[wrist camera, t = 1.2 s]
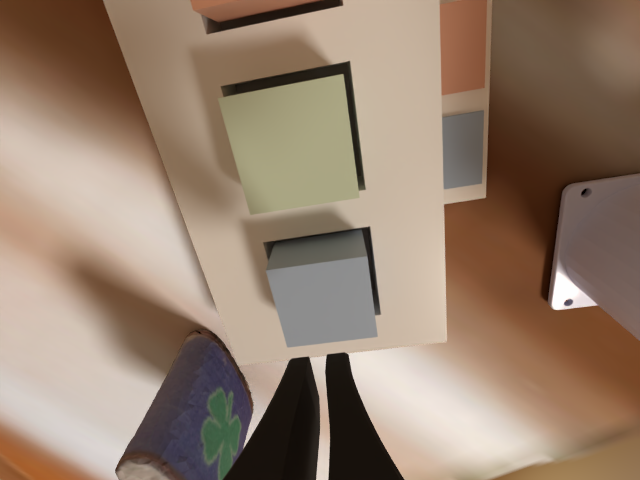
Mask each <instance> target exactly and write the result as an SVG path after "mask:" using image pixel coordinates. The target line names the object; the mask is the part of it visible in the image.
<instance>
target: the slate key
mask: <svg viewBox="0 0 640 480" xmlns="http://www.w3.org/2000/svg"><path fill="white" fill-rule="evenodd" d="M266 273H267V277H268V280H269V284H270V288H271V291H272V295H273V298H274V302H275V305H276V309H277V313H278V316H279V320H280V323H281V327H282V331H283V334H284V338H285V341H286V345H287V348H289V347H297V346H306V345H314V344H323V343H331V342H339V341H348V340H356V339H365V338H373V337H378V334H377V327H376V319H375V311H374V304H373V296H372V288H371V281H370V273H369V265H368V258H367V252H366V248H365V243H364V238H363V234H362V229H360V230H353V231H347V232H340V233H333V234H326V235H320V236H313V237H306V238H300V239H293V240H286V241H279V242H275V243H274V246H273V249H272V253H271V256H270V259H269V262H268V265H267V268H266Z"/></svg>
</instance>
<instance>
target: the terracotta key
mask: <svg viewBox="0 0 640 480" xmlns="http://www.w3.org/2000/svg"><path fill="white" fill-rule="evenodd" d="M190 1H191V5H192V8H193V11H195V12H197V13H200V14H202V15H204V16H206V17H208V18H210V19H212V20H214V21H216V22H218V23H219V22H224V21H229V20H233V19H238V18H243V17H247V16H252V15H257V14H261V13H266V12H271V11H275V10H280V9H285V8H290V7H294V6H299V5H304V4H308V3H313V2H318V1H322V0H190Z"/></svg>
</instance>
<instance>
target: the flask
mask: <svg viewBox="0 0 640 480" xmlns="http://www.w3.org/2000/svg"><path fill="white" fill-rule="evenodd" d="M198 331H199V332H201V333H202V334H198V333H197V331H194V332H192V333H190V334H189V335H188V336H187V338H186V339H185V340H184V343H183V344H182V346H181V348H180V350H179V352H178V355H177V357H176V359H175V361H174V362H173V364H172V367H171V369H170V371H169V373H168V375H167V377H166V379H165V380H164V382H163V384H162V386H161V388H160V389H159V391H158V393H157V395H156V397H155V399H154V400H153V402H152V404H151V406H150V408H149V410H148V411H147V413H146V415H145V417H144V419H143V421H142V423H141V424H140V426H139V428H138V430H137V432H136V434H135V436H134V437H133V438H132V440H131V441H130V443H129V444H128V446H127V448H126V450H125V452H124V454H123V456H122V457H121V459H120V461H119V463H118V465H117V467H116V469H115V473H116V475H117V477H118V479H119V480H222V479H223V478H224V477H225V475H226V474H227V473H228V471H229V470H230V468H231V467H232V465H233V464H234V463H235V461H236V460H237V458H238V457H239V455H240V454H241V452H242V451H243V447H244V442H245V439H246V435H247V431H248V427H249V424H250V421H251V418H252V414H253V410H254V409H253V400H252V398H251V392H250V391H249V386H248V383H247V382H246V380H245V377H244V376H243V375H242V373H241V371H240V369H239V367H238V366H237V364H236V362H235V361H234V358H232V356H231V354H230V352H229V350H227V348H226V346H225V344H224V343H223V342H222V341H221V340H220V339H219V338H218V337H216V335H215V334H213V333H212V332H211V331H206V330H198Z"/></svg>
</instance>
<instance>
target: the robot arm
mask: <svg viewBox="0 0 640 480" xmlns="http://www.w3.org/2000/svg"><path fill="white" fill-rule="evenodd" d="M584 189H587V190H586V192H585V193H584V194H583V195H581V192H582V191H583V190H584ZM566 300H568V301H566ZM565 301H566V302H565ZM548 304H549V305H550V306H551V308H552V309H555V310H561V309H570V308H578V307H586V306H594V305H599V306H600V307H601V308H602V309H603V310H604V311H606V312H607V313H608V314H609V315H610V316H611V317H613V318H614V319H615V320H616V321H617V322H618V323H620V324H621V325H622V326H623V327H624V328H625V329H627V330H628V331H629V332H630V333H631V334H632V335H634V336H635V337H636V338H637V339H638V340H639V341H640V173H638V174H632V175H625V176H619V177H612V178H605V179H599V180H592V181H586V182H579V183H573V184H570V185H568V186H567V187H565V189H564V190H563V192H562V198H561V205H560V213H559V220H558V228H557V236H556V243H555V251H554V259H553V266H552V274H551V281H550V289H549V297H548ZM325 374H326V386H327V399H328V411H329V423H330V459H329V480H404V478H403V477H402V475H401V474H400V472H399V470H398V469H397V467H396V465H395V464H394V462H393V461H392V459H391V457H390V455H389V454H388V452H387V450H386V449H385V447H384V445H383V443H382V441H381V440H380V438H379V436H378V434H377V432H376V430H375V428H374V426H373V424H372V422H371V420H370V418H369V416H368V414H367V412H366V409H365V407H364V405H363V402H362V400H361V398H360V395H359V393H358V390H357V388H356V385H355V382H354V379H353V376H352V372H351V366H350V361H349V355H348V354H347V353H345V352H342V353H333V354H327V358H326V370H325ZM319 435H320V405H319V395H318V391H317V387H316V383H315V379H314V375H313V371H312V367H311V363H310V358H309V356H307V357H299V358H292V359H291V360H290V361H289V363H288V365H287V368H286V370H285V373H284V375H283V377H282V379H281V382H280V384H279V386H278V388H277V390H276V392H275V394H274V396H273V398H272V400H271V402H270V404H269V406H268V408H267V410H266V412H265V413H264V415H263V417H262V419H261V421H260V422H259V424H258V426H257V427H256V429H255V431H254V433H253V434H252V436H251V438H250V439H249V441H248V443H247V444H246V446H245V447H244V449H243V451H242V452H241V454H240V455H239V457H238V458H237V460H236V461H235V463H234V464H233V465H232V467H231V468H230V470H229V471H228V473H227V474H226V475H225V477H224V478H223V479H222V480H316V472H317V460H318V448H319Z"/></svg>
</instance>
